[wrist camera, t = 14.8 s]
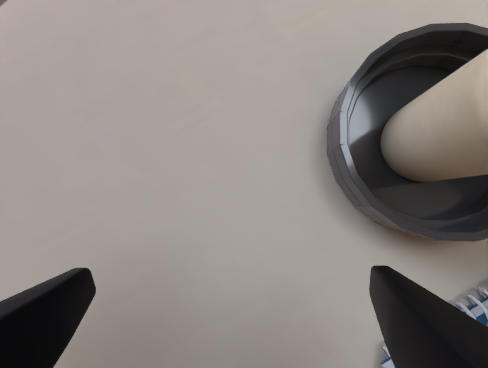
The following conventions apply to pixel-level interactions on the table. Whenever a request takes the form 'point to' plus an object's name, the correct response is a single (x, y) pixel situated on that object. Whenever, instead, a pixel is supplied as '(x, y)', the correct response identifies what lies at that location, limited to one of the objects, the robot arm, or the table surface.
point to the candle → (442, 128)
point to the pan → (374, 120)
